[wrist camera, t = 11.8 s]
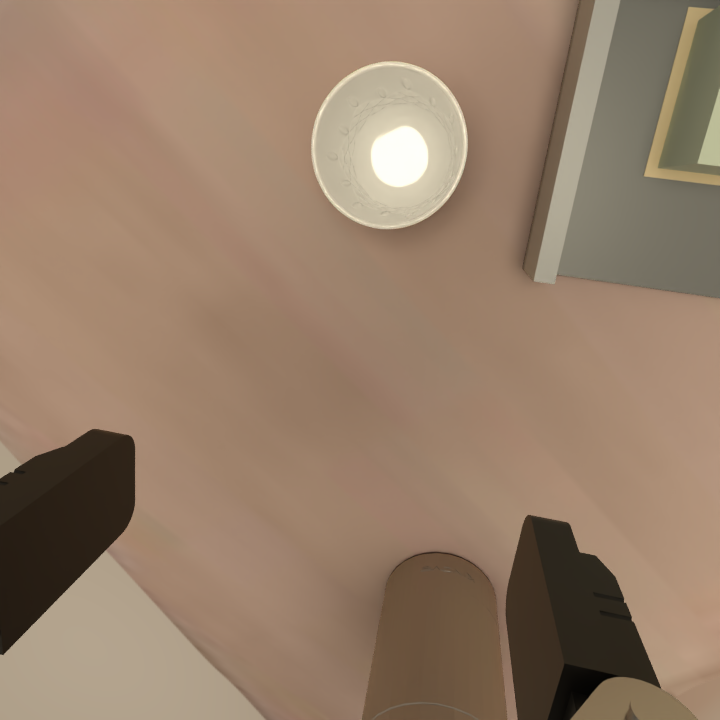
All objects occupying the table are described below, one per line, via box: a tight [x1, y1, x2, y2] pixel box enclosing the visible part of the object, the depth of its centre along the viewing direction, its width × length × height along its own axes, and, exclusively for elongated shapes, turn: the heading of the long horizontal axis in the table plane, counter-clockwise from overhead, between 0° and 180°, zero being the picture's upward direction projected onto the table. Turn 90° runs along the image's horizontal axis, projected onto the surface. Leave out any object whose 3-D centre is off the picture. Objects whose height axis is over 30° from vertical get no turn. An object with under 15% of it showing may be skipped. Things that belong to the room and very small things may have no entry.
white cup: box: [311, 61, 468, 229], centre depth 33 cm, size 8×8×10 cm
